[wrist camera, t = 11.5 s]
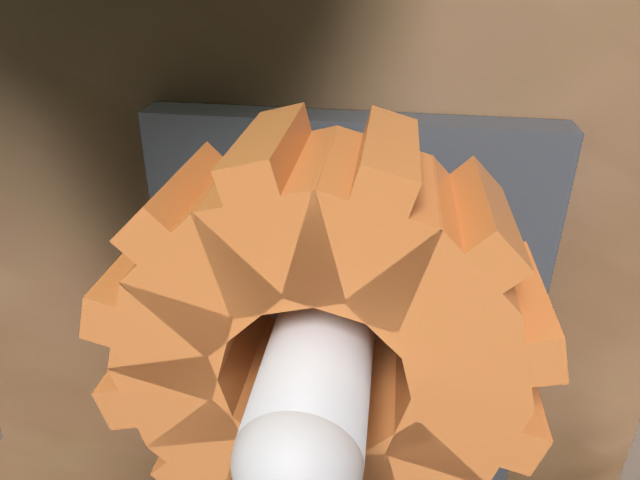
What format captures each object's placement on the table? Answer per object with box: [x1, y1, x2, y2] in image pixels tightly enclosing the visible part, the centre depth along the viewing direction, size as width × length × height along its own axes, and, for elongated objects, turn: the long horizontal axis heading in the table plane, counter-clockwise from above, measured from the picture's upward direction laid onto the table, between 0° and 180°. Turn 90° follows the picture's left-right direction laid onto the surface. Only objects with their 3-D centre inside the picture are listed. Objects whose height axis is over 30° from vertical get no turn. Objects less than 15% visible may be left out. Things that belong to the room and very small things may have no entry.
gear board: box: [138, 101, 584, 480], centre depth 18 cm, size 14×20×13 cm
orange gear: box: [79, 102, 569, 480], centre depth 14 cm, size 10×10×4 cm
